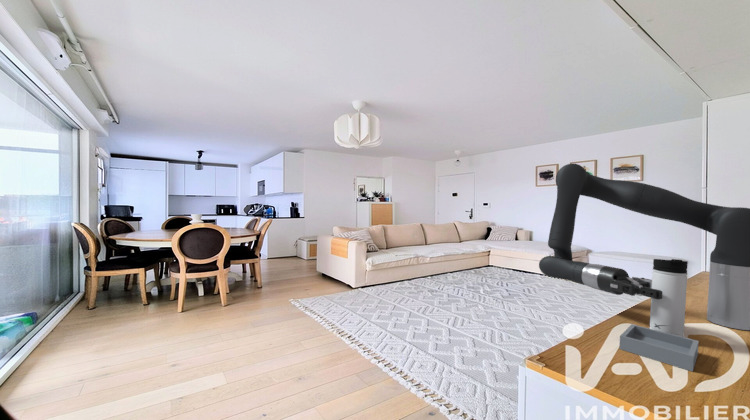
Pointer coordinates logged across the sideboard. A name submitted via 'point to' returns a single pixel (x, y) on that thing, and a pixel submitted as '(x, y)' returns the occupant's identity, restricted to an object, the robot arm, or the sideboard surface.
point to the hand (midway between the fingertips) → (672, 294)
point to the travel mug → (669, 296)
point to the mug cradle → (660, 346)
